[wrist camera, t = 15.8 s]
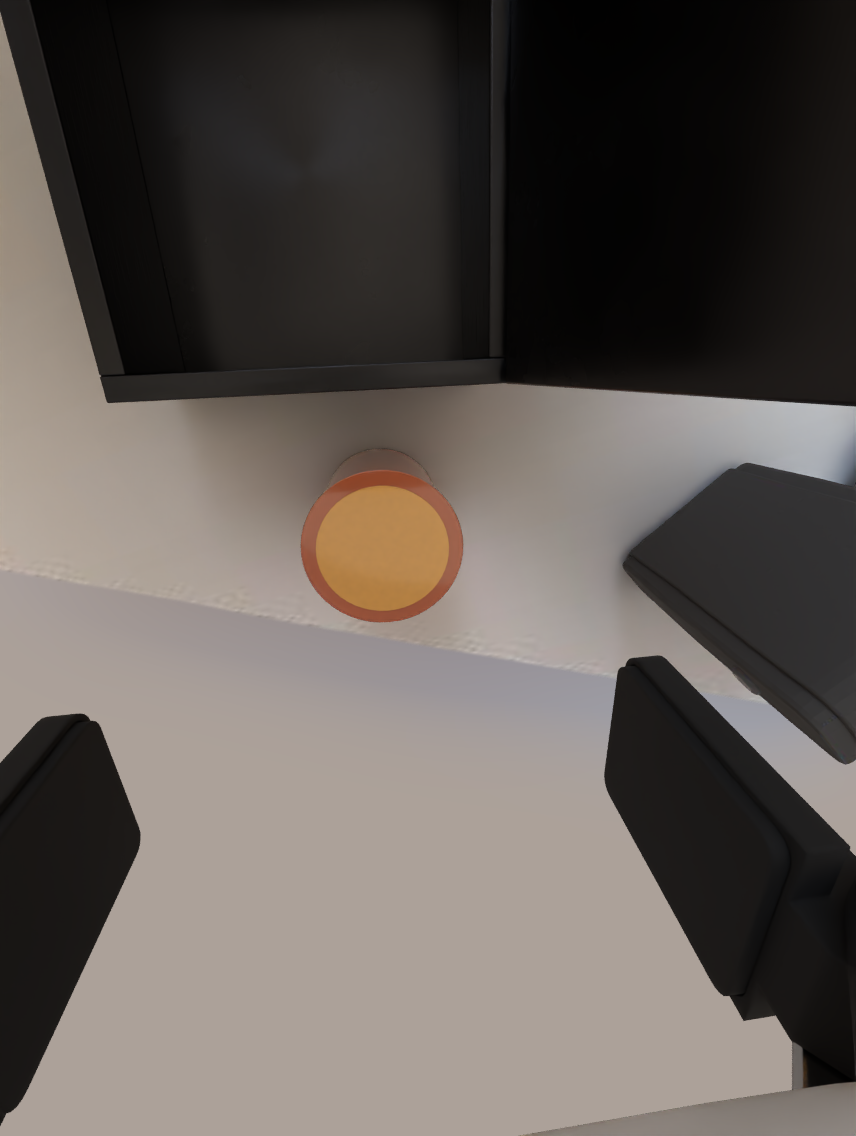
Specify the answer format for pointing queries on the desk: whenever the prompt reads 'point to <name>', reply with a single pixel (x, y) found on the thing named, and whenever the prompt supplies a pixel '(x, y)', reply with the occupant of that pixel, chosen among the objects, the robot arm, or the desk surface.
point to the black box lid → (684, 198)
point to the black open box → (277, 188)
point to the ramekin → (381, 539)
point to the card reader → (768, 591)
